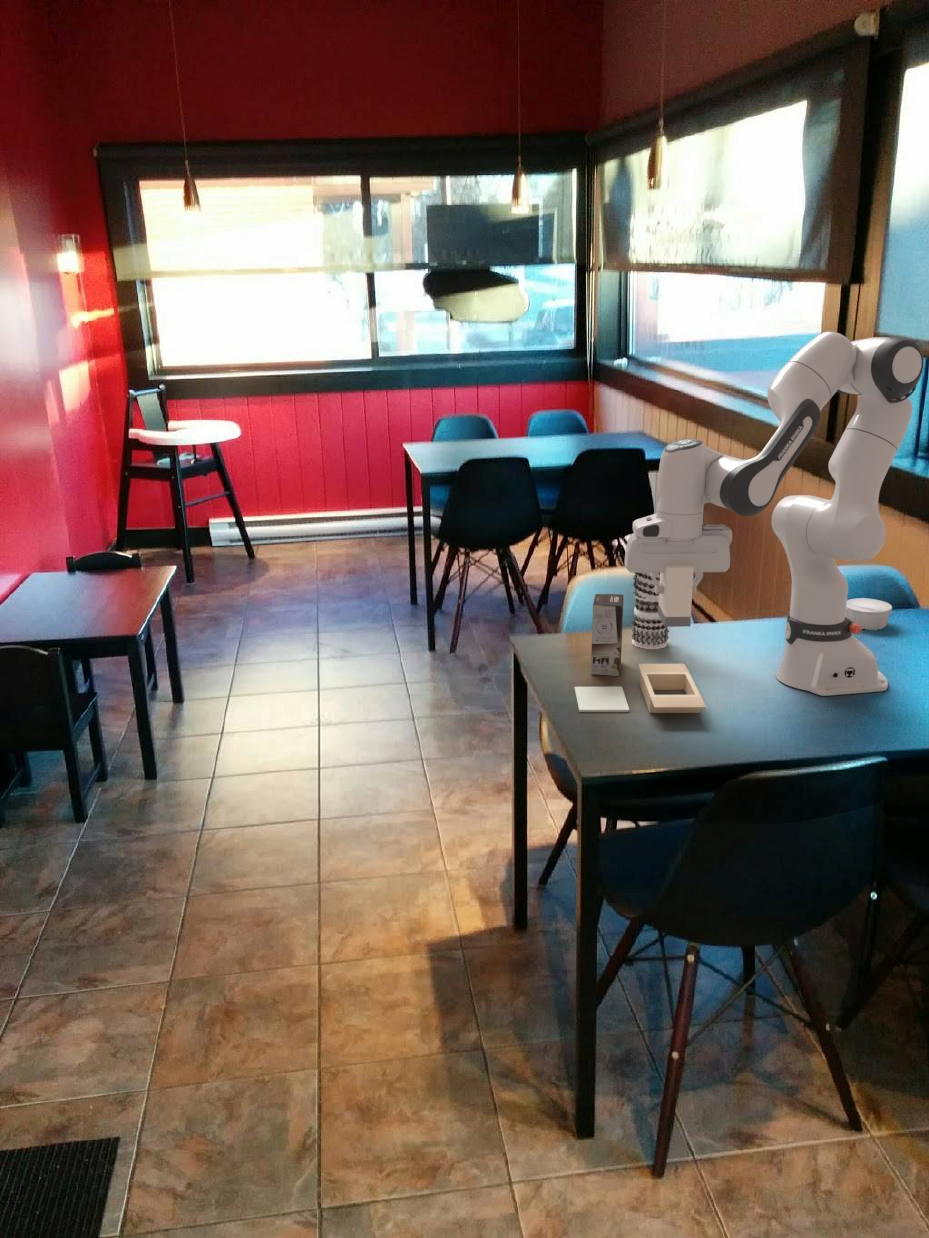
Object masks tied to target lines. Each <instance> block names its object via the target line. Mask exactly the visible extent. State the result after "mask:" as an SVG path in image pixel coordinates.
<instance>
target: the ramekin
mask: <svg viewBox="0 0 929 1238" xmlns="http://www.w3.org/2000/svg"><path fill="white" fill-rule="evenodd" d="M892 611H893V606H892V605H891V604H890V603H888V602H886V601H883V600H879V599H876V598H875V599H874V598H867V597H860V598H857V597H856V598H851V599H847V604H846V613H845V617H846V618H848V619H850V620H851V621H853V623H857V624H858V625H859V626H860V627H861V628H862V629H866V630H865V631H876V630H875V629H880V630H882V629H881V628H883V629H884V628H886V626H887V625H888V622H889V619H890V616H891V613H892ZM862 629H861V630H862ZM867 629H868V630H867Z"/></svg>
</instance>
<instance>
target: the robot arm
mask: <svg viewBox="0 0 929 1238" xmlns="http://www.w3.org/2000/svg"><path fill="white" fill-rule="evenodd" d="M923 370H924V354H923V351H922V348H921V347H920V345H919V344H918V343H917V342H915V341H913V340H912V339H909V338H905V337H900V336H892V337H885V336H881V337H880V336H878V337H877V336H875V337H874V336H873V337H867V338H862V339H857V340H850V339H849V338H848V337H846V336H844V334H842V333H839V332H836V331H824V332H822V333H819V334H818V335H816V336H815V337H813V339H811V340H810V341H808V342H807V343H806V344H805V345H803V346H802V347H801V348H799V350H797V352H796V353H794V354H793V356H791V357H790V359H789V360H787V362H786V363H785V364H784V365H783V366H782V367H781V368H780V369H779V371H778V372H777V373H776V374H775V376H774V377H773V378H772V380H771V382H770V383H769V385H768V387H767V395H766V396H767V402H768V405H769V407H770V410H771V411H772V413H773V414H774V416H775V417H776V418H777V420H778V421H780V423H779V426H778V428H777V429H776V431H774V433H773V434H772V436H771V438H770V439H769V441H768V442H767V443H766V444H765V446H764V447H763V449H762V450H761V451H760V452H759V454H757V455H756V456H754V457H752V458H748V459H743V458H738V457H735V456H732V455H728V454H724V453H721V452H719V451H716V450H714V449H712V448H710V447H709V446H707V445H706V444H704V442H703V441H702V440H700V439H695V438H687V439H685V438H683V439H677V440H674V441H672V442H670V443H668V444H667V445H665V447H664V448H663V450H662V453H661V456H660V460H659V461H660V462H659V465H658V466H659V468H658V476H657V477H658V479H657V490H658V495H659V497H658V503H657V505H656V513H653V514H650V515H647V516H643V517H640V518H637V519H635V520H634V521H632V531H633V533H632V534H630V536H629V537H628V540H627V543H626V546H625V547H626V548H625V554H624V568H626V570H627V571H628V572H629V573H630V574H631V573H634V574H635V573H650V576H651V578H652V580H653V581H654V583H655V593H656V594H663V592H664V591H663V589H664V585H663V583H658V581H657V580H656V578H658V577H659V572H665V570H666V565H685V564H692V566H693V567H694V573H693V576H695V577H693V589H692V595H693V594H697V587H698V585H699V584H700V583H701V581H702V579H703V578H704V573H726V572H727V571H728V570H729V569H730V567H731V553H730V552H731V551H730V546H731V544H732V542H733V531H732V529H731V528H730V527H729V526H726V525H725V524H721V523H720V524H719V523H718V524H704V522H703V519H704V506H705V504H709V503H710V504H712V505H715V506H718V507H721V508H724V509H727V510H729V511H731V512H733V513H735V514H737V515H739V516H742V517H752V516H756V515H758V514H760V513H761V512H764V510H765V509H766V508H767V507H769V505H770V504H771V502H772V501H773V499H774V497H775V495H776V493H777V491H778V488H779V486H780V484H781V482H782V480H783V479H784V477H785V476H786V474H787V473H788V471H789V470H790V468H791V467H792V466H793V465H794V462H795V461H796V460H797V458H798V457H799V455H800V454H801V453H802V452H803V450H804V448H805V447H806V446H807V444H808V443H809V442H810V440H811V438H812V437H813V435H814V434H815V432H816V430H817V428H818V426H819V423H820V421H821V416H822V413H821V412H822V409H823V408H824V406H826V404H827V403H828V402H829V401H830V400H831V399H832V397H833V396H834V395H836V393H840V394H844V395H850V394H852V395H857V404H856V409H855V412H854V414H853V415H852V417H851V419H850V420H849V422H848V424H847V426H846V427H845V429H844V431H843V433H842V435H841V437H840V440H839V441H838V443H837V445H836V447H835V448H834V451H833V453H832V455H831V457H830V458H829V461H828V465H827V466H828V467H827V468H828V472H829V474H830V475H831V477H832V479H833V480H834V482H835V487H834V492H833V494H832V497H831V499H828V498H823V497H820V496H815V495H811V494H798V495H797V494H796V495H794V494H793V495H788V496H785V497H783V498H782V499H780V501H778V503H777V504H776V505H775V507H774V509H773V511H772V514H771V527H772V530H773V533H774V534H775V535H776V537H777V538H778V540H779V541H780V542H781V544H782V546H783V549H784V551H785V555H786V557H787V561H788V566H789V570H790V574H791V575H790V576H791V592H790V593H791V595H790V608H789V609H790V610H789V612H788V613H787V617H786V622H785V628H784V629H785V631H784V636H785V637H784V639H785V644H784V648H783V653H782V656H781V660H780V663H779V666H778V669H777V671H776V672H775V677H776V678H777V680H778V682H779V681H780V683H783V684H784V685H785V686H789V687H792V688H794V689H798V690H802V691H807V692H811V693H813V694H816V695H819V696H822V697H826V696H838V695H840V696H841V695H850V694H865V693H877V692H884V691H885V692H886V691H887V689H888V687H889V682H888V679H887V677H886V676H885V675H884V674H883V673H882V672H881V671H880V670H878V669H879V668H878V663H877V662H878V661H877V659H876V655H874V653H873V651H872V650H871V649H869V648H868V647H867V646H866V645H865V644H864V643H863V642H861V641H860V639H857V637H855V636H854V635H860V633H862V628H861V627H860V626H859V625H858V624H857V623H853V621H851V620H850V619H848V618H846V617H845V613H846V604H847V600H848V594H849V584H848V581H847V578H846V577H845V575H844V574H843V573H842V572H841V570H840V569H839V567H838V565H837V563H836V560H835V559H838V560H841V561H846V562H847V561H848V562H849V561H850V562H866V561H869V560H871V559H874V557H876V556H877V555H878V553H880V551H881V550H882V548H883V546H884V544H885V541H886V536H887V535H886V534H887V531H886V529H887V528H886V525H885V522H884V520H883V518H882V516H881V514H880V510H879V497H880V491H881V487H882V484H883V482H884V479H885V477H886V475H887V473H888V471H889V470H890V467H891V465H892V462H893V461H894V459H895V458H896V455H897V453H898V452H899V451H898V450H899V449H900V446H901V445H902V443H903V439H904V438H905V435H906V434H907V433H906V432H907V430H908V427H909V424H910V421H911V417H912V414H913V403H912V402H911V400H910V398H909V397H911V396H912V395H913V393H914V392H915V391H916V389H917V385H918V383H919V382H920V379H921V377H922V374H923ZM853 634H854V635H853Z"/></svg>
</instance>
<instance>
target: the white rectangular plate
mask: <svg viewBox="0 0 929 1238" xmlns="http://www.w3.org/2000/svg"><path fill="white" fill-rule="evenodd" d="M573 688H574V693H575V697H576V703H577V707H578V708H577V709H578V713H629V712H630V707H629V704H628V702H627V698H626V694H625V691H624V689H623V687H622V686H574V687H573Z"/></svg>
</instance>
